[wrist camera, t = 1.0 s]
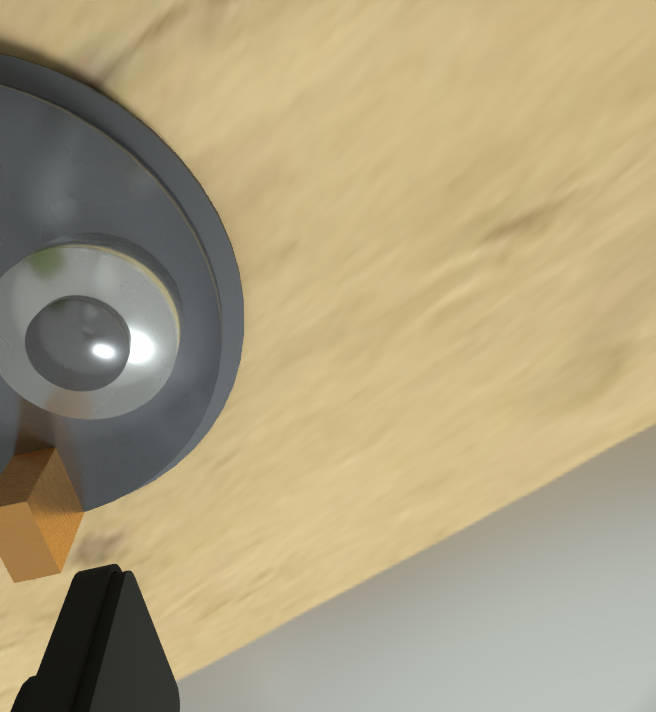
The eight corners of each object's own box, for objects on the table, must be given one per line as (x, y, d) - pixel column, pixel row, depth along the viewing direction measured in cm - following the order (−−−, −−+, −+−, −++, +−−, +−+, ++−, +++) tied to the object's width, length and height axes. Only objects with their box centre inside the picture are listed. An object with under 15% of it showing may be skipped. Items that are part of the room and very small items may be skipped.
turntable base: (-405, 95, 21) (-443, 95, 20) (180, 6, 22) (176, 1, 21) (-120, 539, 30) (-135, 556, 29) (280, 457, 32) (282, 470, 31)
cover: (-15, 248, 23) (-62, 275, 19) (159, 218, 23) (145, 238, 20) (47, 399, 26) (17, 445, 22) (201, 369, 26) (194, 410, 23)
